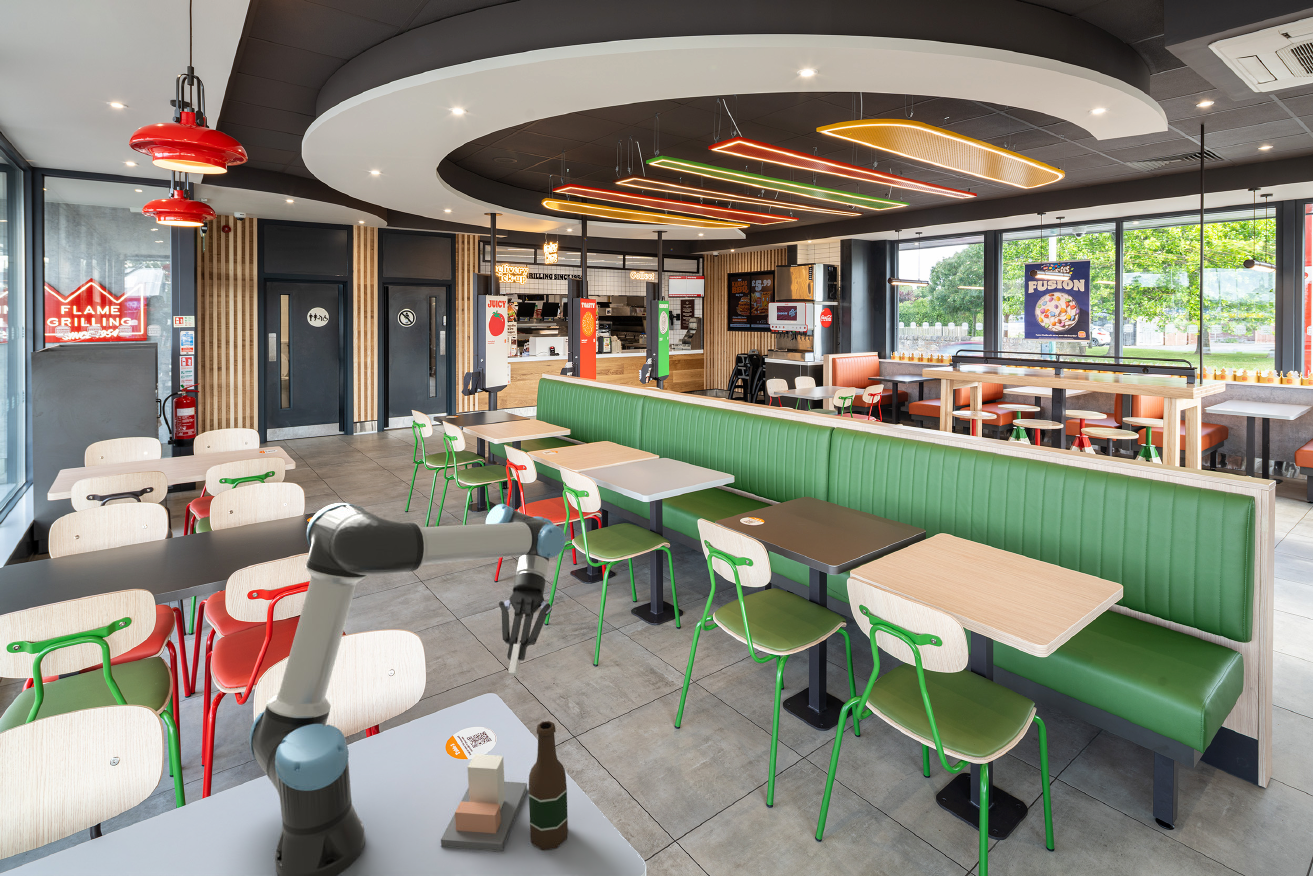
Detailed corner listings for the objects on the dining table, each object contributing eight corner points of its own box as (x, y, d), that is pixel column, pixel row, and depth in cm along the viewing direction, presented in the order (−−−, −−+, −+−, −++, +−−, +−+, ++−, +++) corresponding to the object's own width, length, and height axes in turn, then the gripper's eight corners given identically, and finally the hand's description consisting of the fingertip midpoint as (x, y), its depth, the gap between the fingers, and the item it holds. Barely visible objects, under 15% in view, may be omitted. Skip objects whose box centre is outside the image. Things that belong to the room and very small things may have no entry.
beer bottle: (561, 854, 126) (558, 740, 122) (522, 848, 127) (518, 735, 123) (574, 824, 133) (572, 716, 129) (537, 818, 135) (534, 711, 131)
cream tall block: (469, 811, 134) (467, 767, 133) (476, 797, 138) (474, 754, 136) (498, 813, 134) (496, 769, 132) (505, 799, 138) (503, 756, 136)
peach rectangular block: (455, 830, 130) (454, 812, 129) (461, 819, 133) (460, 801, 132) (495, 833, 129) (495, 815, 128) (500, 822, 132) (500, 804, 131)
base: (441, 846, 128) (440, 839, 127) (473, 785, 144) (472, 779, 144) (502, 851, 127) (501, 844, 126) (527, 789, 143) (526, 783, 143)
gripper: (559, 584, 168) (544, 680, 154) (508, 582, 169) (489, 677, 155) (553, 572, 161) (537, 671, 148) (501, 570, 163) (480, 668, 149)
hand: (512, 674), depth 152 cm, fingers closed
